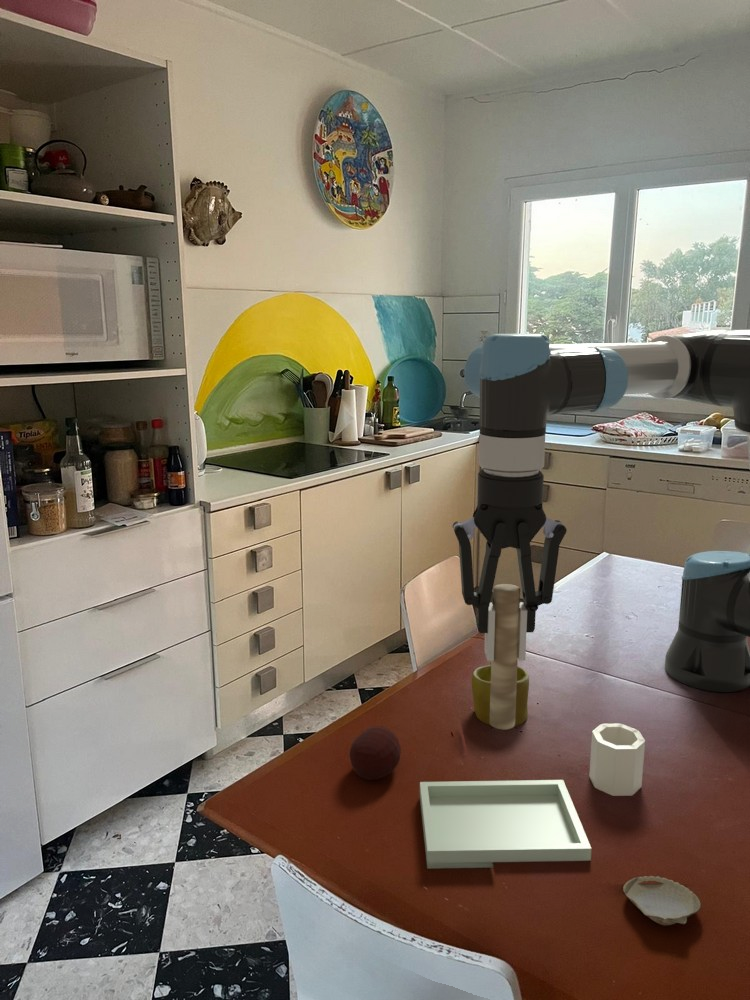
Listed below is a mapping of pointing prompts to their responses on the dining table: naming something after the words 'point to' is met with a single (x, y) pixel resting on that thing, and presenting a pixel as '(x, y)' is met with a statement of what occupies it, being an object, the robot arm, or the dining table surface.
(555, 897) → the dining table surface
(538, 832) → the tray
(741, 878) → the dining table surface
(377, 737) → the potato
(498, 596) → the dowel
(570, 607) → the dining table surface
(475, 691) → the mug
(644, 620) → the dining table surface
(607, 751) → the crock
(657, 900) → the seashell
